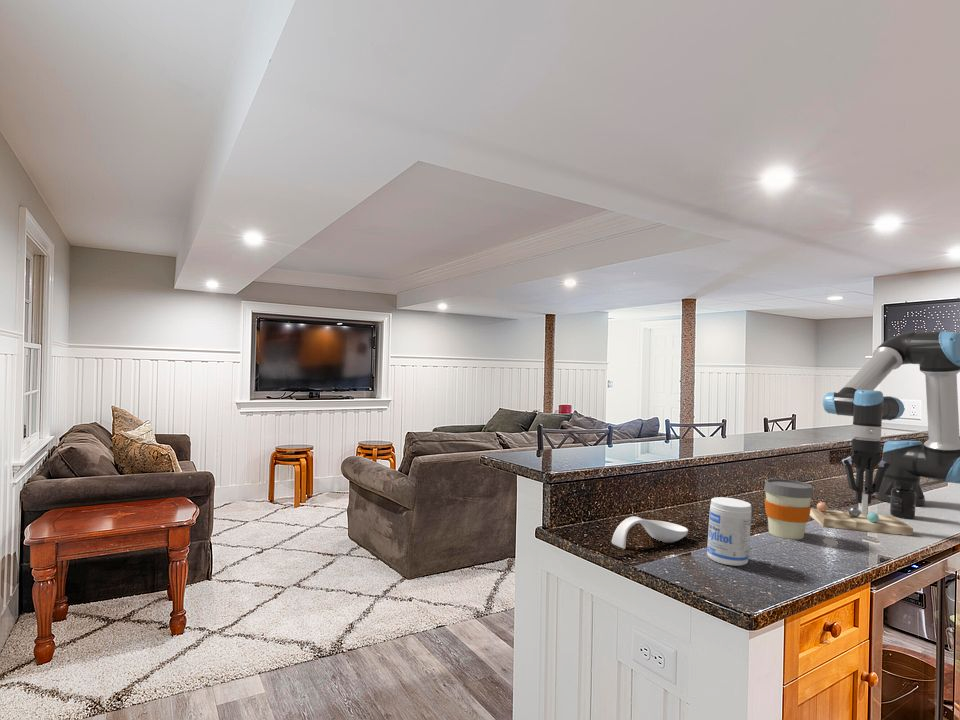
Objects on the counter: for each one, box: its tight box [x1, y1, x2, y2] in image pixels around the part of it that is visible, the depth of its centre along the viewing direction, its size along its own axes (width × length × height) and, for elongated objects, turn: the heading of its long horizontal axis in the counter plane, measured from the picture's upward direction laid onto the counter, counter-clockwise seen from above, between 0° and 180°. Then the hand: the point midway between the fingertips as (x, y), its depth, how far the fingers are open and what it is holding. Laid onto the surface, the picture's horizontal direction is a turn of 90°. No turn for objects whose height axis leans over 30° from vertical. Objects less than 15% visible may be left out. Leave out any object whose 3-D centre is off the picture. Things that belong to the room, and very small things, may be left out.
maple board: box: [809, 507, 914, 536], centre depth 178 cm, size 24×13×2 cm, turn 76°
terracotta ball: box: [816, 501, 828, 512], centre depth 184 cm, size 3×3×3 cm
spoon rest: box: [611, 515, 689, 550], centre depth 153 cm, size 24×12×7 cm, turn 121°
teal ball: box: [867, 511, 879, 523], centre depth 173 cm, size 3×3×3 cm
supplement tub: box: [706, 496, 753, 567], centre depth 141 cm, size 10×10×15 cm
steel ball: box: [847, 506, 860, 517], centre depth 178 cm, size 3×3×3 cm
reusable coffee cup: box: [763, 478, 814, 540], centre depth 165 cm, size 13×12×15 cm
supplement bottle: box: [889, 480, 917, 520], centre depth 192 cm, size 7×7×12 cm
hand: (862, 513), depth 178 cm, fingers closed
